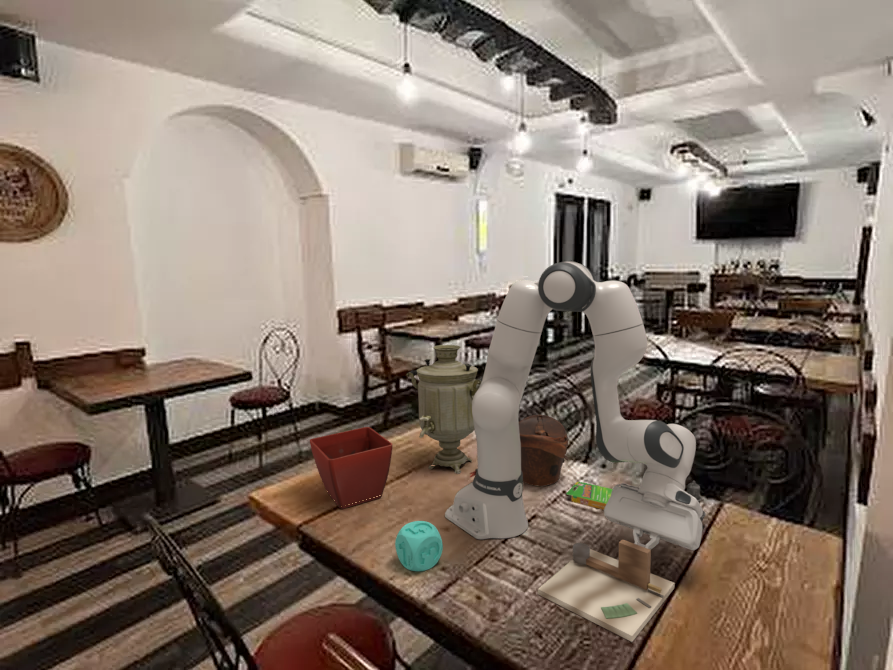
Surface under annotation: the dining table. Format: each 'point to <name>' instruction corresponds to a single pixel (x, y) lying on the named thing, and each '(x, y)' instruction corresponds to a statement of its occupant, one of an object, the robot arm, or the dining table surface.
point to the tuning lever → (621, 563)
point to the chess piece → (695, 495)
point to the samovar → (446, 403)
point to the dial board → (606, 596)
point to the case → (542, 449)
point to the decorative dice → (418, 545)
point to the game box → (590, 495)
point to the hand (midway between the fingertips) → (640, 553)
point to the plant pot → (353, 465)
